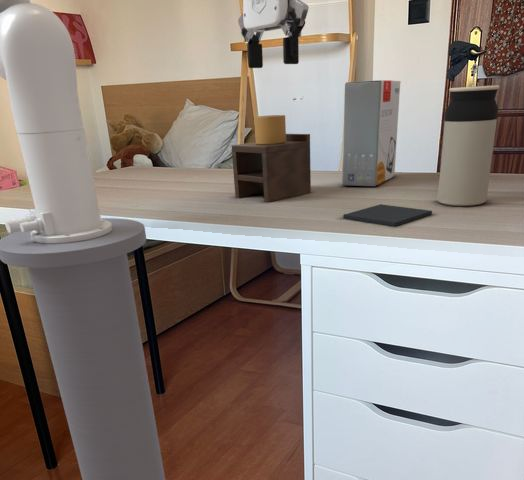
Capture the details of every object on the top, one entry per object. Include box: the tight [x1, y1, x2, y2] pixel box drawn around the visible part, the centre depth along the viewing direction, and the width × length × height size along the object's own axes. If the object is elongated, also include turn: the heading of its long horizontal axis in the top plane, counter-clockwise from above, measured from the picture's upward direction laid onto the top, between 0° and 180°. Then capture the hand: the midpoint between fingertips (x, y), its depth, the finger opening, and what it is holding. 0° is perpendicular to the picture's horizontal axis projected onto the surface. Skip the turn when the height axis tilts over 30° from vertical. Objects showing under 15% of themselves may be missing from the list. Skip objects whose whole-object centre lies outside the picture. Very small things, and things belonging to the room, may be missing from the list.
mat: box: [342, 204, 433, 227], centre depth 85 cm, size 10×10×1 cm
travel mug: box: [437, 85, 500, 207], centre depth 88 cm, size 8×8×18 cm
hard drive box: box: [341, 79, 401, 187], centre depth 113 cm, size 16×8×20 cm, turn 153°
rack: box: [231, 133, 312, 203], centre depth 106 cm, size 12×10×11 cm
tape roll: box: [253, 114, 287, 144], centre depth 103 cm, size 6×6×5 cm
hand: (272, 65), depth 97 cm, fingers open, 9 cm apart
